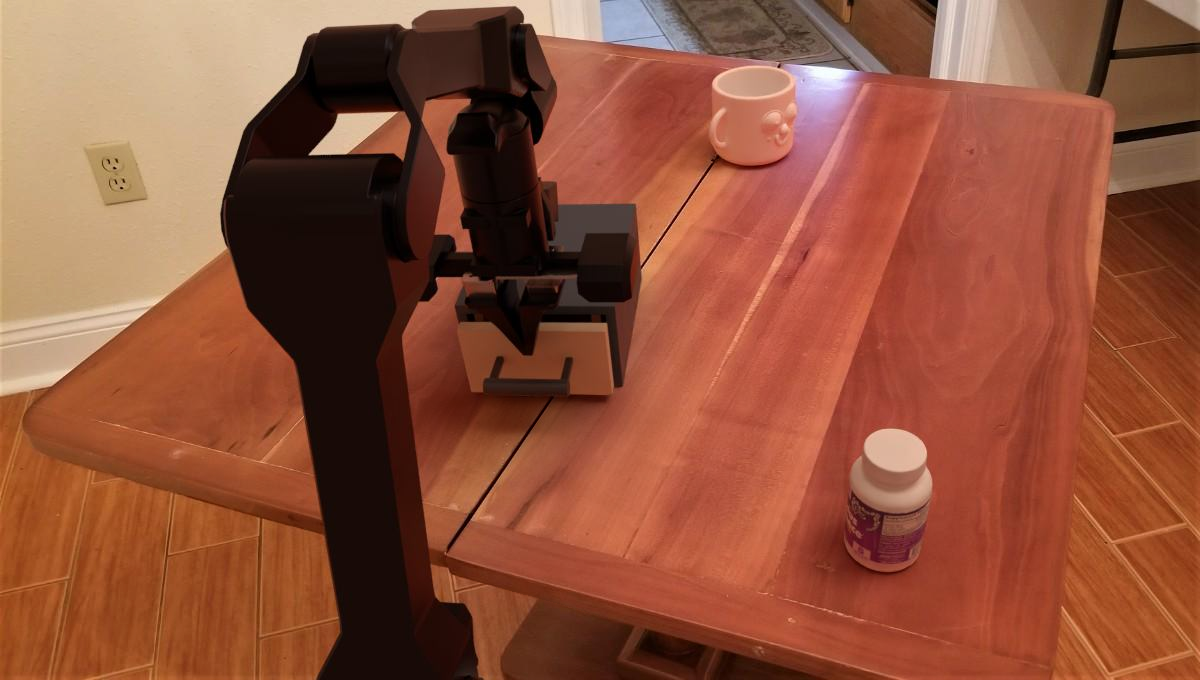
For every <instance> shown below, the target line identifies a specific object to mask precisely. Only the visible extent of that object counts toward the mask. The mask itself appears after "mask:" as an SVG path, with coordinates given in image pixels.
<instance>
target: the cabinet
mask: <svg viewBox="0 0 1200 680" xmlns="http://www.w3.org/2000/svg"><path fill="white" fill-rule="evenodd" d="M558 213H559V220H558V221H557V222H555V228H556V235H555V238H554V241H548V246H563V247H564V252H581V249H582V245H583V242H584V238H585V234H586V233H629V234H630V235H631V236H632V237H633V238H634V239H635V240H636V241H637V243H638V255H639V263H638V268H637V274H636V279H635V285H634V290H633V295H632V298H631V299H629V300H628V301H626V302H624V303H615V302H588V301H587V300H586V299H584V298H583V297H582V296H580V295H579V294H578V289H577V279H566V280H565V284H564V287H563V291H562V294H561V298H560V301H559V305H558V307H557V308H555V309H553V310H545V311H544V313H543V314H576V315H605V317H606V323H607V327H608V336H609V345H610V355H611V364H612V373H613V382H614V387H624V384H625V383H624V382H625V376H626V371H627V365H628V361H629V355H630V349H631V344H632V343H631V342H632V336H633V332H634V326H635V321H636V314H637V309H638V304H639V303H638V302H639V297H640V291H641V285H642V279H643V276H642V265H641V264H642V263H641V251H640V237H639V226H638V225H639V224H638V214H637V203H576V204H575V203H571V204H570V203H567V204H560V203H559V204H558ZM525 285H526V284H524V280H523V279H517V290H518V295H519V298H520V300H521V297H522V294H523V291H524V288H525ZM466 296H467V293H466V288H465V284H462V287H461V289H460V292H459V294H458V296H457V299H456V301H455V302H454V310H455V313H456V315H455V316H456V319H457V323H458V325H459V324H460V322H475V317H474V314H481V313H480V312H479V311H477V310H470V309H467V308H466V306H465V303H464V301H465V298H466Z"/></svg>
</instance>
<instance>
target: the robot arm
mask: <svg viewBox="0 0 1200 680" xmlns="http://www.w3.org/2000/svg"><path fill="white" fill-rule="evenodd" d="M410 23H411V28H406V27H404V26H402V25H401V24H399V23H381V24H380V23H379V24H359V25H341V26H340V25H339V26H326V27H323V28H322V29H320V30H319V32H312V33H311V34H309V35H307V37H306V39H305V41H304V43H303V45H302V48H301V51H300V55H299V59H298V63H297V65H296V69H295V73H294V74H293V76H292V77H291V78H290V79H289V80H288V81H287V82H286V83H285V84H284V85H283V86H282V87H281V88H280V89H279V91H278V92H276V94H275V95H274V96H272V98H271V99H270V100H269V101H268V102H267V103H266V104H265V105H264V106H263V107H262V108H261V109H260V110H259V112H257V113H256V115H254V117H252V119H251V120H250V121H249V122H248V123H247V124H246V126H245V127H244V129H243V131H242V134H241V138H240V139H239V144H238V147H237V150H236V154H235V157H234V160H233V163H232V166H231V170H230V174H229V176H228V180H227V184H226V187H225V190H224V193H223V196H222V201H221V206H220V212H219V214H220V215H219V218H220V230H221V231H220V232H221V235H222V238H223V241H224V245H225V246H226V248H227V250H228V251H229V254H230V255H229V256H230V258H231V260H232V265H233V268H234V272H235V274H236V278H237V283H238V285H239V288H240V292H241V295H242V299H243V302H244V304H245V308H246V309H247V310H248V312H249V313H250V314H251V316H252V317H253V318H254V319H255V320H256V321H257V322H258V323H259V324H260V326H262V328H263V329H264V330H265V331H266V332H267V334H268V335H269V336H270V337H271V338H272V339H273V340H274V341H275V342H276V343H277V344H278V345H279V347H280V348H281V349H282V350H283V351H284V352H285V354H286V355H288V357H289V358H290V359H291V360H292V362H293V365H294V369H295V373H296V378H297V384H298V390H299V397H300V403H301V409H302V413H303V414H302V415H303V421H304V426H305V431H306V437H307V443H308V448H309V454H310V461H311V467H312V471H313V478H314V483H315V488H316V489H315V490H316V494H317V501H318V507H319V513H320V519H321V524H322V530H323V536H324V542H325V546H326V547H325V548H326V553H327V558H328V564H329V565H328V566H329V570H330V576H331V583H332V586H333V587H332V589H333V593H334V594H333V595H334V599H335V605H336V611H337V617H338V624H339V633H338V635H337V637H336V640H335V641H334V643H333V645H332V647H331V649H330V651H329V653H328V655H327V656H326V659H325V661H324V663H323V664H322V666H321V668H320V670H319V672H318V673H317V676H316V679H315V680H485V678H484V677H481V676H479V670H478V666H479V658H478V654H477V653H476V652H477V651H476V646H475V639H474V638H475V637H474V621H473V620H474V619H473V616H472V615H473V614H472V613H471V612H470V610H469V608H468V606H467V605H466V604H465V603H464V602H452V601H451V602H450V601H440V599H438V598H437V597H436V594H435V593H436V592H435V588H434V580H433V579H434V578H433V572H432V565H431V564H432V563H431V557H430V548H429V539H428V534H427V525H426V518H425V510H424V509H425V508H424V502H423V494H422V487H421V479H420V478H421V477H420V472H419V464H418V463H419V462H418V455H417V447H416V439H415V432H414V431H415V430H414V425H413V417H412V416H413V415H412V409H411V400H410V394H409V393H410V391H409V385H408V378H407V370H406V369H407V368H406V363H405V354H404V345H403V335H404V333H405V331H406V328H407V327H408V324H409V323H410V321H411V318H412V316H413V314H414V313H415V311H416V308H417V307H418V305H419V303H429V302H430V301H431V300H432V299H433V298H434V297H435V296H436V294H437V292H438V291H439V287H438V282H437V278H461V279H460V280H461V284H462V285H464V284H465V288H466V293H467V296H466V298H465V301H464V303H465V306H466V308H467V309H470V310H477V311H479V312H480V313H481V314H482V315H483V316H484V317H485V318H487V319H488V320H489V321H490V322H491V323H492V324H494V325H495V326H496V327H497V328H498V329H499V330H500V331H501V332H502V333H503V334H504V335H505V336H506V337H507V338H508V340H509V341H510V342H511V343H512V344H513V345H514V346H515V347H516V348H517V349H518V350H519V352H520V353H521V354H522V355H523V356H533V353H534V350H535V346H536V341H537V336H538V332H539V327H540V322H541V318H542V315H543V313H544V311H545V310H553V309H555V308H557V307H558V305H559V301H560V298H561V294H562V291H563V287H564V284H565V280H566V279H577V289H578V294H579V295H580V296H582V297H583V298H584V299H586V300H587V301H588V302H615V303H624V302H626V301H628V300H629V299H631V298H632V295H633V290H634V285H635V279H636V274H637V268H638V263H639V255H638V243H637V241H636V240H635V239H634V238H633V237H632V236H631V235H630V234H629V233H586V234H585V238H584V242H583V245H582V249H581V252H564V247H563V246H548V241H554V238H555V235H556V228H555V222H557V221H558V220H559V213H558V205H559V197H558V182H557V181H553V180H542V177H541V176H539V173H538V167H537V159H536V154H535V146H536V145H537V144H539V143H540V141H541V139H542V137H543V134H544V132H545V129H546V127H547V124H548V122H549V119H550V117H551V114H552V112H553V109H554V107H555V105H556V101H557V98H558V86H557V81H556V80H555V78H554V75H553V74H552V73H551V69H550V65H549V64H548V61H547V58H546V56H545V53H544V50H543V48H542V46H541V43H540V40H539V38H538V35H537V32H536V30H535V27H534V26H533V24H532V23H525V14H524V12H523V11H522V10H521V9H520V7H517V5H508V6H487V7H486V6H485V7H466V8H448V9H447V8H446V9H429V10H427V11H425V12H423V13H422V14H420V15H418V16H416V17H414V19H412V21H411V22H410ZM432 100H436V101H444V100H445V101H447V100H470V101H469V104H468V105H466V106H464V107H463V108H462V109H461V110H459V111H458V112H457V113H456V114H455V116H454V118H453V119H452V120H451V122H450V124H449V126H448V128H447V138H446V147H445V149H446V153H447V155H449V156H452V159H453V164H454V168H455V173H456V178H457V182H458V187H459V192H460V196H461V201H462V207H463V211H462V212H461V214H460V216H459V219H460V223H461V228H462V230H468V235H469V240H470V241H469V242H470V244H471V250H457V249H458V248H457V245H456V240H455V237H453V236H452V235H451V234H449V233H446V234H441V233H440V234H436V228H437V223H438V217H439V212H440V206H441V200H442V196H443V191H444V184H445V180H446V169H445V166H444V163H443V161H442V160H441V158H440V156H439V153H438V152H437V149H436V147H435V145H434V143H433V141H432V138H431V136H430V135H429V133H428V130H427V129H426V126H425V124H424V122H423V115H424V110H425V105H426V102H427V101H432ZM379 113H381V114H382V113H384V114H385V113H405V115H406V119H407V120H408V122H409V124H410V127H409V133H408V137H407V142H406V147H405V151H404V156H403V160H402V158H400V157H399V156H398V155H397V154H395V152H380V153H379V152H377V153H376V152H375V153H341V154H340V153H339V154H338V153H337V154H336V153H335V154H333V153H332V154H331V153H330V154H311V153H312V152H313V151H314V150H315V148H316V147H317V146H318V145H319V144H320V143H321V142H322V141H323V140H324V139H325V138H326V136H328V134H329V133H330V132H331V131H332V130H333V128H334V127H335V125H336V123H337V120H338V116H339V115H345V114H346V115H347V114H350V115H351V114H379ZM517 279H523V280H524V284H526V285H525V288H524V291H523V294H522V297H521V300H520V298H519V295H518V290H517Z"/></svg>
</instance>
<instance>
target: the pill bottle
mask: <svg viewBox="0 0 1200 680" xmlns="http://www.w3.org/2000/svg"><path fill="white" fill-rule="evenodd" d="M927 458H928V450H927V447H926V445H925V443H924V442H923V441H922V440H921V438H919V437H918V436H917V435H915V434H913V433H911V432H909V431H907V430H904V429H901V428H900V429H899V428H882V429H878V430H875V431H874V432H872V433H871V434H869V435H868V436H867V437H866V438H865V441H864V443H863V448H862V452H861V455H860V456H859V457H858V458H856V459H855V461H854V462H853V464H852V466H851V469H850V471H849V478H848V487H847V497H846V498H847V499H846V506H845V507H846V509H845V520H844V531H843V542H844V545H845V548H846V550H847V552H848V554H849V555H850V557H852V559H853V560H854V561H856V562H857V563H859V564H860V565H861V566H863V567H865V568H867V569H869V570H872V571H876V572H882V573H891V572H892V573H893V572H899V571H902V570H904V569H906V568H907V567H910V566H912V565H913V564H914V563H915V562H916V561H917V559H918V557H919V556H920V553H921V549H922V545H923V541H924V536H925V535H924V534H925V531H926V527H927V520H928V515H929V509H930V505H931V504H930V503H931V499H932V495H933V477H932V475H931V472H930V470H929V468H928V467H927V460H928V459H927Z"/></svg>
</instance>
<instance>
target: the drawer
mask: <svg viewBox="0 0 1200 680" xmlns="http://www.w3.org/2000/svg"><path fill="white" fill-rule="evenodd" d="M474 317H475V322H460V324H459V323H458V326H457V328H456V334H457V338H458V341H459V346H460V350H461V354H462V355H461V356H462V358H463V363H464V367H465V372H466V375H467V381H468V385H469V389H470V392H471V393H483V395H485V396H514V397H515V396H518V397H520V396H521V397H562V398H563V397H565V398H567V397H569V396H570V395H599V396H600V395H601V396H602V395H603V396H604V395H605V396H612V395H613V393H614V388H615V386H614V382H613V373H612V364H611V355H610V345H609V336H608V327H607V323H606V317H605V315H576V314H543V315H542V318H541V322H540V327H539V332H538V336H537V341H536V346H535V350H534V353H533V356H523V355H522V354H521V353H520V352H519V350H518V349H517V348H516V347H515V346H514V345H513V344H512V343H511V342H510V341H509V340H508V338H507V337H506V336H505V335H504V334H503V333H502V332H501V331H500V330H499V329H498V328H497V327H496V326H495V325H494V324H492V323H491V322H490V321H489V320H488V319H487V318H485V317H484V316H483V315H482V314H474Z"/></svg>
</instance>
